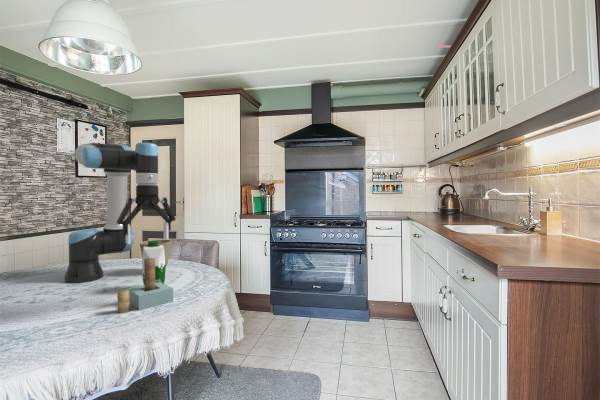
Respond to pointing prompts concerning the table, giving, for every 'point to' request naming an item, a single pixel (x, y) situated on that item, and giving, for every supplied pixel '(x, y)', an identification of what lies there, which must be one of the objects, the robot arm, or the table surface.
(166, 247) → the plant pot
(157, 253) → the milk carton
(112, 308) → the table surface
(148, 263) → the walnut pin long
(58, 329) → the table surface
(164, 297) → the socket block
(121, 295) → the oak pin short
